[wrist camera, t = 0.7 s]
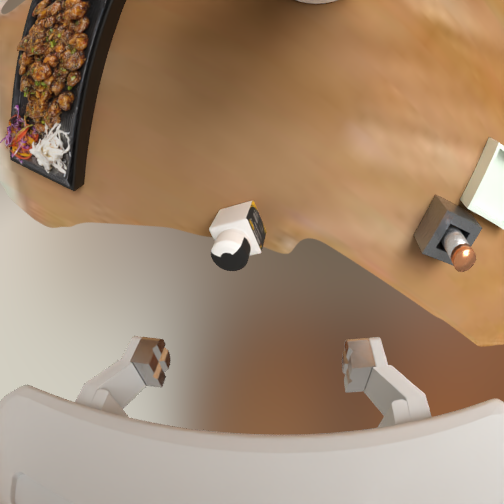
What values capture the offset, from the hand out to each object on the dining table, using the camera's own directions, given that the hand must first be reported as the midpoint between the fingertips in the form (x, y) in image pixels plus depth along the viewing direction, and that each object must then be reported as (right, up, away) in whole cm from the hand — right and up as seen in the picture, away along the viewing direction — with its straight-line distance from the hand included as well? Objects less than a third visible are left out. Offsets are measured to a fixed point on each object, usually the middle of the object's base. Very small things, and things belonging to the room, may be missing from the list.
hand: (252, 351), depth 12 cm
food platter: (-40, +41, +30) cm, 64 cm away
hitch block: (+37, +10, +35) cm, 52 cm away
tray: (+47, +18, +27) cm, 57 cm away
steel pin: (+37, +10, +35) cm, 52 cm away
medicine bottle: (-2, +10, +43) cm, 45 cm away
